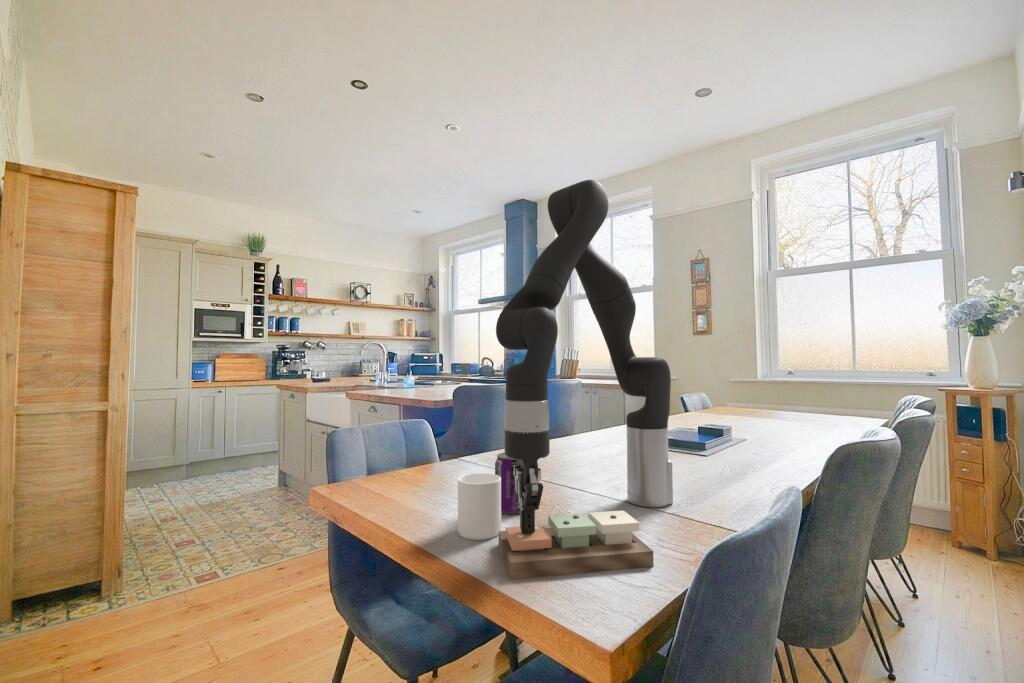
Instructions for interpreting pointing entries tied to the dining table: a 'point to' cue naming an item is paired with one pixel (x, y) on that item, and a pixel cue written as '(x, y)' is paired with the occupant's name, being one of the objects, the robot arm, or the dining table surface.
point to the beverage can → (507, 483)
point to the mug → (479, 506)
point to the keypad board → (574, 557)
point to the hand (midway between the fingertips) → (527, 531)
